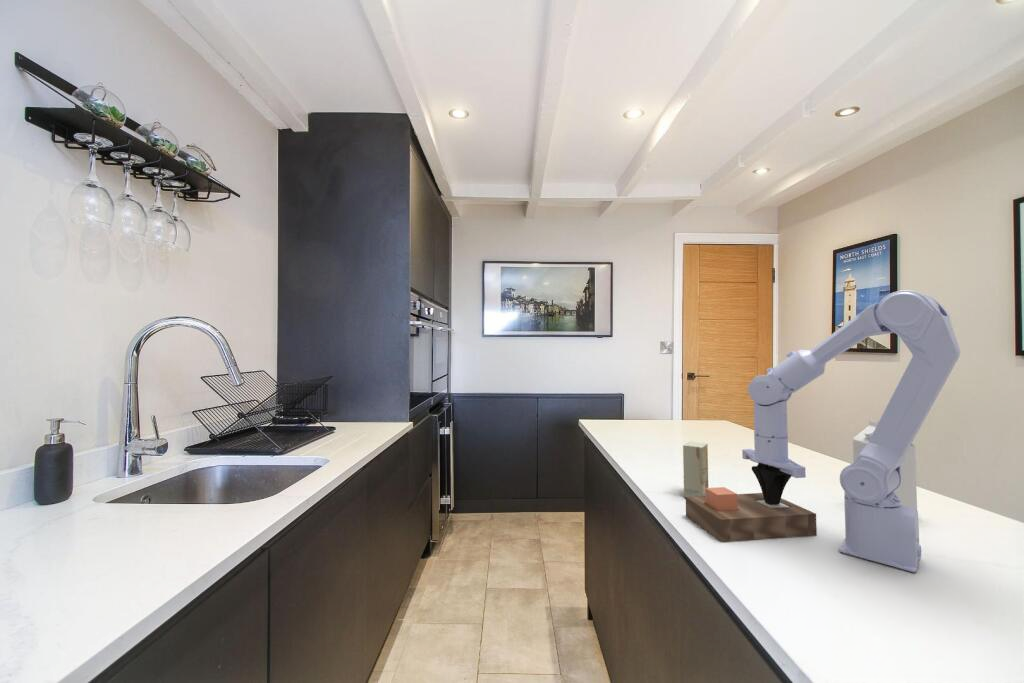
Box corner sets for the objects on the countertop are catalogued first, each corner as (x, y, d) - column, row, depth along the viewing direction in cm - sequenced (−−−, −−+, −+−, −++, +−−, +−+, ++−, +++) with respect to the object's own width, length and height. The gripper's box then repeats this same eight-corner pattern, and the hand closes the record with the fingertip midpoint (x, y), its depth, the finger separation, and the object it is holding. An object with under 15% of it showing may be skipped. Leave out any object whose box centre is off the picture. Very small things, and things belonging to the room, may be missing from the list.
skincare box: (703, 501, 96) (701, 447, 96) (683, 497, 98) (682, 445, 99) (709, 493, 101) (708, 442, 101) (690, 490, 104) (689, 440, 104)
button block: (769, 511, 89) (768, 492, 89) (816, 535, 77) (816, 513, 78) (685, 516, 87) (685, 496, 87) (721, 542, 75) (721, 519, 75)
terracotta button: (724, 507, 84) (723, 487, 84) (737, 514, 80) (737, 493, 80) (705, 508, 83) (705, 488, 83) (718, 516, 79) (717, 494, 79)
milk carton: (889, 508, 91) (886, 420, 91) (918, 521, 84) (914, 426, 84) (854, 507, 91) (851, 420, 92) (879, 520, 84) (876, 425, 85)
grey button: (774, 519, 85) (774, 499, 85) (789, 527, 81) (789, 506, 81) (756, 520, 85) (756, 500, 85) (771, 528, 81) (770, 507, 81)
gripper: (728, 429, 90) (730, 492, 90) (780, 443, 76) (781, 519, 75) (758, 428, 91) (760, 491, 91) (815, 442, 77) (817, 517, 76)
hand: (772, 504), depth 83 cm, fingers closed, pressing on grey button
